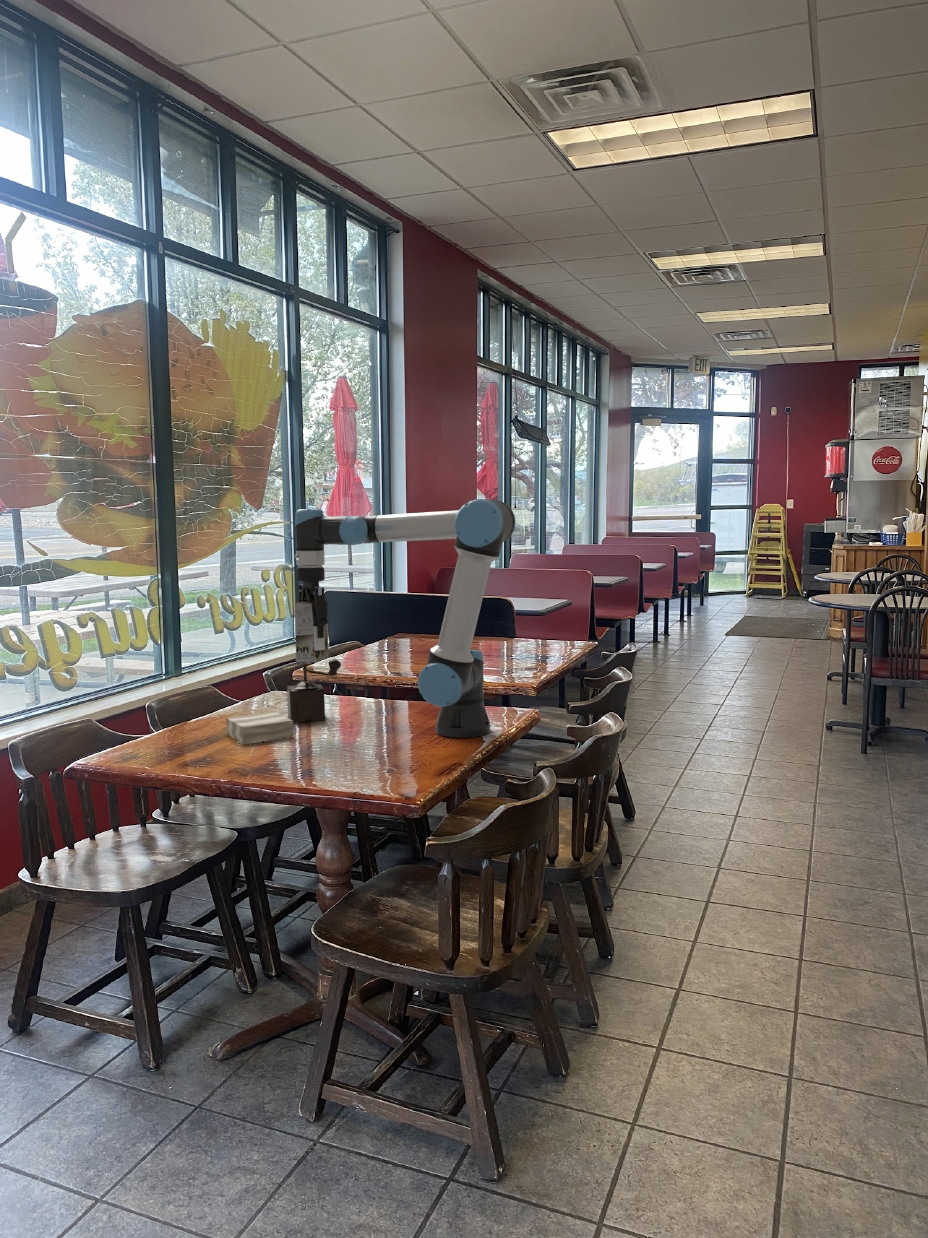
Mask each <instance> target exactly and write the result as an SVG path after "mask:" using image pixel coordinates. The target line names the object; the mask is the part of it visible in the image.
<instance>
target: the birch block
mask: <svg viewBox="0 0 928 1238" xmlns="http://www.w3.org/2000/svg"><path fill="white" fill-rule="evenodd" d="M225 718H226V734H227V736H229V737H230V736H231V737H230V738H231V739H233V740H236V741H237V742H238V743H240V744H242V746H243V745H248V744H250V743H251V744H256V743H257V744H258V743H263V742H262V741H264V742H271V741H276V739H278V740H281V739H280V738H285V739H288V738H287V737H292V736H293V737H294V723H293V720H291V719H289V718H288V717H287V716H284V715H283V714H280V713H278V712H276V711H272V712H263V713H255V714H248V715H239V716H232V717H225ZM293 737H292V738H293ZM270 740H271V741H270Z"/></svg>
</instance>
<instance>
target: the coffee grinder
mask: <svg viewBox="0 0 928 1238" xmlns="http://www.w3.org/2000/svg"><path fill="white" fill-rule="evenodd" d="M302 667H303V668H302V671H303V681H299V682H298V683H296V684H294V685H287V718H288V717H289V719H291V720H293V722H299V723H310V722H309V721H312V722H316V721H315V720H321V721H326V711H325V708H326V707H325V706H326V705H325V689H324V687H323V685H321V684H316V683H315V682H313V681H310V680H308V675H307V674H308V673H310V674H315V675H323V676H327V677H333V676H337V675H338V670H339V669H341V667H342V663H341V661H340V660H338V659H336V658H334V659H333V658H332V659H330V660H329V661H328V667H329V669H328V672H325V671H321V670H312V669H311V670H310V669H308V665H307V663H303V664H302Z"/></svg>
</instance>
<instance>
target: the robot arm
mask: <svg viewBox="0 0 928 1238" xmlns="http://www.w3.org/2000/svg"><path fill="white" fill-rule="evenodd" d="M514 513H515V512H514V511H513V509H512V508H511V507H510V506H509V505H508V504H507V503H506V502H503V501H502V500H497V499H486V498H477V499H473V500H470V501H468V502H466V503H465V504H463V505H462V506H461V507H460V509H458V510H443V511H440V510H439V511H428V512H426V511H425V512H412V513H411V512H409V513H394V514H379V515H363V516H361V515H360V516H359V515H358V516H356V515H348V516H347V515H346V516H345V515H344V516H341V515H340V516H339V515H338V516H336V515H335V516H327V515H326V516H325V514H324V511H323V509H321V508H311V509H310V508H308V509H305V508H304V509H298V510H296V512H295V516H294V518H295V520H294V523H295V524H294V530H295V553H296V554H295V555H294V558H295V559H296V560H295V561H296V563H295V564H296V566H298V567H296V581H297V582H300V583H301V582H302V584H298V585H297V591H298V592H297V594H298V595H297V602H302V601H308V602H315V607H316V611H315V610H314V609H313V615H314V621H315V623H314V624H313V626H314V650H315V651H316V650H325V631H324V626H325V624H328V625H329V618H328V619H327V612H326V604H325V600H326V598H325V587H324V586H322V587H320V582H323V581H325V578H326V577H325V576H326V573H325V570H326V569H325V568H324V567H323V566H324V565H325V563H326V562H325V561H326V560H325V545H326V546H327V545H340V546H341V545H343V546H344V545H345V546H356V545H362V544H364V545H365V544H366V545H367V544H377V543H390V542H391V543H393V542H394V543H395V542H396V543H397V542H412V541H413V542H415V541H432V540H433V541H435V540H436V541H438V540H453V539H454V540H455V544H454V547H453V548H454V549H455V551H456V553H457V554H458V557H457V560H456V564H455V569H454V572H453V575H452V576H453V577H452V581H451V585H450V589H449V594H448V598H447V602H446V607H445V611H444V615H443V619H442V620H443V621H442V623H441V629H440V631H439V632H440V633H439V637H438V641H437V644H436V645H434V646H432V647H431V648H430V650H429V653H428V657H427V662H426V665H425V666H423V668H422V670H421V671H420V672H419V675H418V678H417V687H418V690H419V694H420V695H421V697H422V698H423V699H424V701H426V702H427V703H429V705H432V706H435V707H440V710H439V713H438V716H437V719H436V722H435V734H437V735H439V736H441V737H447V738H459V739H462V738H463V739H465V738H466V739H468V738H477V737H482V736H485V735H488V734H490V732H491V722H490V719H489V716H488V713H487V709H486V707H485V702H484V701H485V700H484V691H485V690H484V688H485V687H484V685H485V684H484V665H485V663H484V662H485V660H484V654H483V652H482V651H481V650H480V649H479V650H478V649H471V648H472V644H473V640H474V636H475V632H476V628H477V624H478V620H479V615H480V610H481V607H482V602H483V600H484V599H483V598H484V594H485V589H486V586H487V584H488V583H487V582H488V578H489V574H490V569H491V566H492V563H493V562H494V561H496V560H497V559H499V558H500V553H501V551H502V550H501V549H502V547H503V543H505V542H506V541H507V540H509V539H510V538H511V536H512V535H513V533H514V531H515V527H516V516H515V514H514Z"/></svg>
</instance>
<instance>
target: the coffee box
mask: <svg viewBox="0 0 928 1238" xmlns="http://www.w3.org/2000/svg"><path fill="white" fill-rule="evenodd" d="M325 604H326V612H327V619H328V620H329V617H328V616H329V613H328V610H329V609H328V599H327V600H326V599H325ZM313 609H314V610H315V611H316V607H315V602H308V601H302V602H298V601H297V602H294V625H295V627H294V631H295V632H294V635H295V662H300V663H318V662H321V661H324V660H326V659H328V658H329V654H330V653H329V623H328V624H325V626H324V631H325V650H316V651H315V650H314V626H313V624H314V623H315V621H314V615H313Z"/></svg>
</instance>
